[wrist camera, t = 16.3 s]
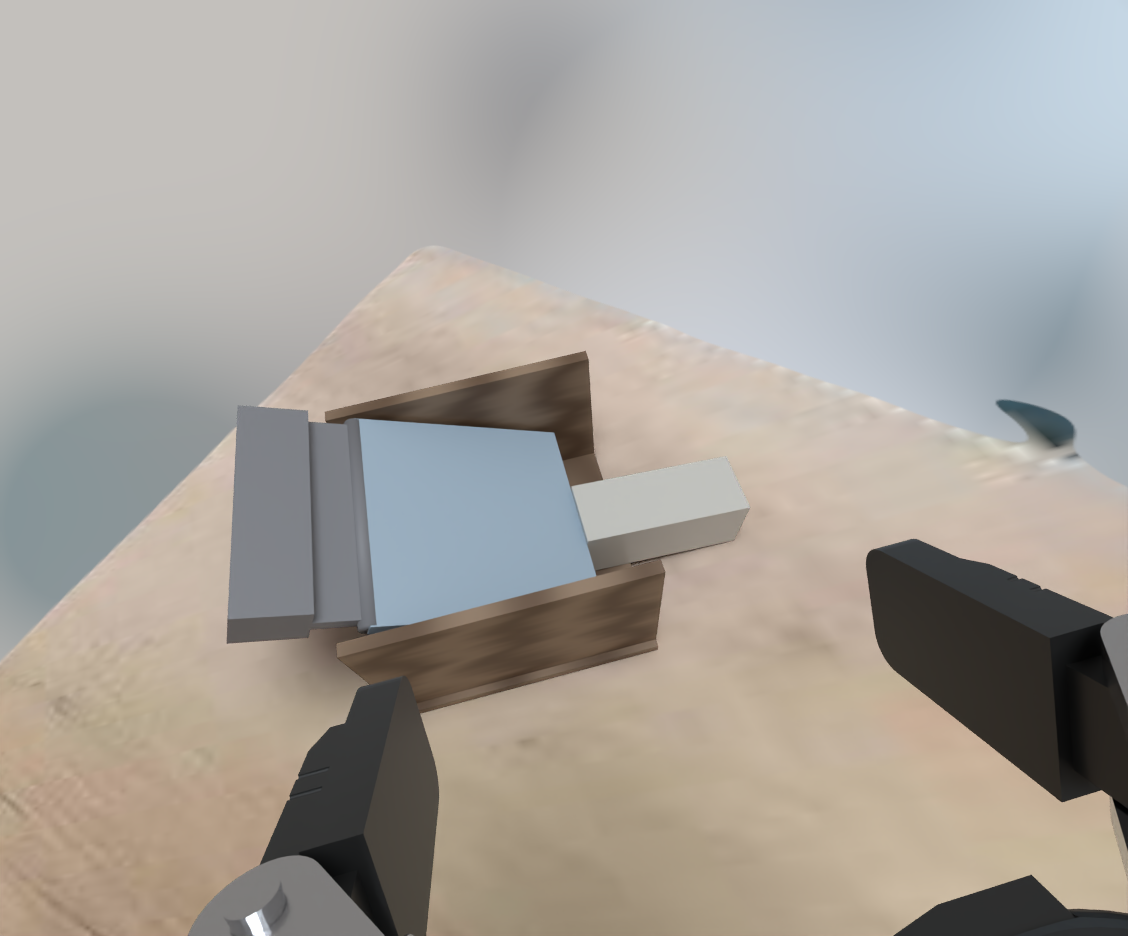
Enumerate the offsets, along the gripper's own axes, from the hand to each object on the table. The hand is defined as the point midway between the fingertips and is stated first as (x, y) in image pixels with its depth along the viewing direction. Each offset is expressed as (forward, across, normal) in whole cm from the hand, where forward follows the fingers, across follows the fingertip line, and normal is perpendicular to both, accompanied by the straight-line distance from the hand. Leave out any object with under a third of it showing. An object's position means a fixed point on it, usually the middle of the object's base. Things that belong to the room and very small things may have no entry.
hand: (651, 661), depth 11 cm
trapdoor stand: (+39, +4, +11) cm, 40 cm away
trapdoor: (+32, +8, +5) cm, 34 cm away
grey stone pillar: (+36, -2, +9) cm, 37 cm away
